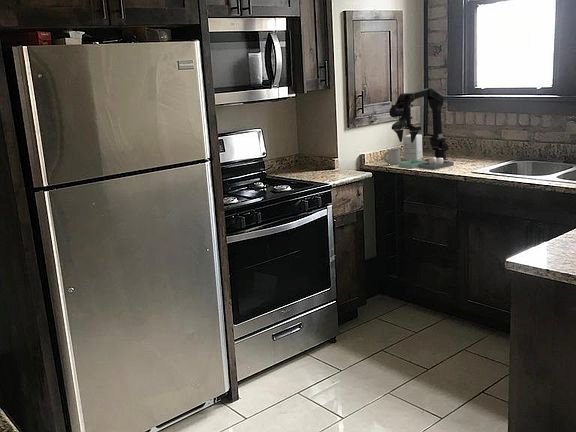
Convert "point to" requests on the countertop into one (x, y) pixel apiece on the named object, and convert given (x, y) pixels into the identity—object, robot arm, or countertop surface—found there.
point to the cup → (392, 156)
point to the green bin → (411, 163)
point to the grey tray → (445, 164)
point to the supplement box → (412, 147)
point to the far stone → (432, 161)
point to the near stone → (439, 161)
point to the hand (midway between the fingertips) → (406, 142)
